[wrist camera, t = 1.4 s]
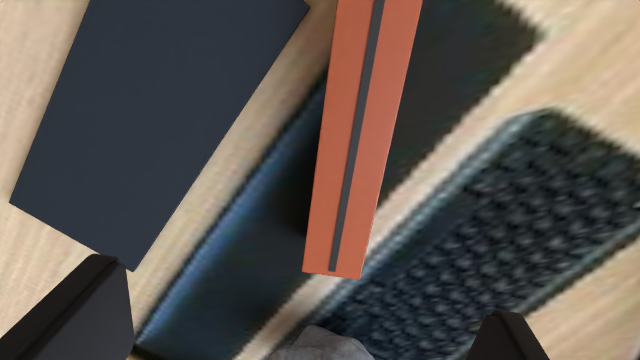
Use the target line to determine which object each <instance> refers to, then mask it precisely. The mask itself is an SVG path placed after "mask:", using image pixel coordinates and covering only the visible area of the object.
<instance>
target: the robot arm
mask: <svg viewBox="0 0 640 360" xmlns="http://www.w3.org/2000/svg"><path fill="white" fill-rule="evenodd" d="M133 344H134V330H133V322H132V314H131V306H130V298H129V290H128V282H127V275H126V267H125V265H124V264H122V263H120V260H119V258H118V257H115V256H107V255H100V254H91V255H90V256H88V257H87V258H86V259H85V260H84V261H83V262H82V263H80V264H79V265H78V266H77V267H76V268H75V269H74V270H73V271H72V272H71V273H70V274H69V275H68V276H67V277H65V278H64V279H63V280H62V281H61V282H60V283H59V284H58V285H57V286H56V287H55V288H54V289H53V290H52V291H51V292H49V293H48V294H47V295H46V296H45V297H44V298H43V299H42V300H41V301H40V302H39V303H38V304H37V305H36V306H34V307H33V308H32V309H31V310H30V311H29V312H28V313H27V314H26V315H25V316H24V317H23V318H22V319H21V320H20V321H18V322H17V323H16V324H15V325H14V326H13V327H12V328H11V329H10V330H9V331H8V332H7V333H6V334H5V335H3V336H2V337H1V338H0V360H126V358H127V357H128V355H129V354H130V352H131V350H132V347H133ZM466 360H550V359H549V358H548V356H547V355H546V353H545V351H544V350H543V348H542V346H541V345H540V343H539V342H538V340H537V338H536V337H535V335H534V334H533V332H532V330H531V329H530V327H529V326H528V324H527V322H526V321H525V319H524V318H523V316H522V315H521V314H519V313H515V312H507V311H500V310H494V311H493V312H492V313H491V315H486V316H485V318H484V320H483V322H482V324H481V327H480V329H479V331H478V333H477V336H476V338H475V340H474V342H473V344H472V347H471V349H470V351H469V353H468V356H467V358H466Z"/></svg>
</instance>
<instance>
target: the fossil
mask: <svg viewBox="0 0 640 360" xmlns="http://www.w3.org/2000/svg"><path fill="white" fill-rule="evenodd" d="M268 360H374V358H373V357H372V356H371V355H370V354H369V353H368V352H367V350H366V349H365V348H364V346H363V345H362V344H361V343H360V342H359V341H358V340H356V339H354V338H350V337H344V336H339V335H337V334H335V333H333V332H331V331H329V330H328V329H326V328H323V327H319V326H317V325H308V326H307V327H306V328H305V329H304V330H303V332H302V333H301V334H300V336H299V337H298V339H297V340H296V341H295V342H294V344H293V345H285V346H282V347H281V348H280V349H278V350H277V351H276V352H273V353H272V354H270V356H269V357H268Z"/></svg>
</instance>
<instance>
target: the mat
mask: <svg viewBox="0 0 640 360" xmlns="http://www.w3.org/2000/svg"><path fill="white" fill-rule="evenodd" d="M309 9H310V6H309V5H308V4H307V3H305V2H304V1H303V0H90V2H89V4H88V7H87V9H86V12H85V14H84V17H83V19H82V22H81V24H80V27H79V29H78V32H77V34H76V37H75V39H74V42H73V44H72V47H71V49H70V52H69V54H68V56H67V59H66V61H65V64H64V66H63V69H62V71H61V74H60V76H59V79H58V81H57V84H56V86H55V89H54V91H53V94H52V96H51V99H50V101H49V104H48V106H47V109H46V111H45V114H44V116H43V119H42V121H41V123H40V126H39V128H38V131H37V133H36V136H35V138H34V141H33V143H32V146H31V148H30V151H29V153H28V156H27V158H26V161H25V163H24V166H23V168H22V171H21V173H20V176H19V178H18V181H17V183H16V186H15V188H14V190H13V193H12V195H11V198H10V200H9V203H10V204H12V205H14V206H16V207H17V208H19V209H21V210H23V211H24V212H26V213H28V214H30V215H32V216H33V217H35V218H37V219H39V220H40V221H42V222H44V223H46V224H48V225H49V226H51V227H53V228H55V229H56V230H58V231H60V232H62V233H63V234H65V235H67V236H69V237H71V238H72V239H74V240H76V241H78V242H79V243H81V244H83V245H85V246H87V247H88V248H90V249H92V250H94V251H95V252H97V253H99V254H101V255H107V256H115V257H118V258H119V260H120V263H122V264H124V265H125V267H126V269H127V270H129V271H131V272H134V271H135V269H136V268H137V267H138V265H139V264H140V262H141V261H142V259H143V258H144V256H145V255H146V253H147V252H148V250H149V249H150V247H151V246H152V244H153V243H154V241H155V240H156V238H157V237H158V235H159V234H160V232H161V231H162V229H163V228H164V226H165V225H166V223H167V222H168V220H169V219H170V217H171V216H172V214H173V213H174V211H175V210H176V208H177V207H178V205H179V204H180V202H181V201H182V199H183V198H184V196H185V195H186V193H187V192H188V190H189V189H190V187H191V186H192V184H193V183H194V181H195V180H196V178H197V177H198V175H199V174H200V172H201V171H202V169H203V168H204V166H205V165H206V163H207V162H208V160H209V159H210V157H211V156H212V154H213V153H214V151H215V150H216V148H217V147H218V145H219V144H220V142H221V141H222V139H223V138H224V136H225V135H226V133H227V132H228V130H229V129H230V127H231V126H232V124H233V123H234V121H235V120H236V118H237V117H238V115H239V114H240V112H241V111H242V109H243V108H244V106H245V105H246V103H247V102H248V100H249V99H250V97H251V96H252V94H253V93H254V91H255V90H256V88H257V87H258V85H259V84H260V82H261V81H262V79H263V78H264V76H265V75H266V73H267V72H268V70H269V69H270V67H271V66H272V64H273V63H274V61H275V60H276V58H277V57H278V55H279V54H280V52H281V51H282V50H283V48H284V47H285V45H286V44H287V42H288V41H289V39H290V38H291V36H292V35H293V33H294V32H295V30H296V29H297V27H298V26H299V24H300V23H301V21H302V20H303V18H304V17H305V15H306V14H307V12H308V11H309Z"/></svg>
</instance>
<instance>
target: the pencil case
mask: <svg viewBox="0 0 640 360" xmlns="http://www.w3.org/2000/svg"><path fill="white" fill-rule="evenodd" d="M422 1H423V0H338V1H337V8H336V16H335V24H334V31H333V39H332V46H331V54H330V62H329V69H328V77H327V84H326V92H325V100H324V107H323V115H322V122H321V130H320V138H319V145H318V153H317V161H316V168H315V176H314V183H313V191H312V199H311V206H310V214H309V221H308V229H307V237H306V244H305V252H304V259H303V267H302V272H307V273H314V274H322V275H329V276H336V277H343V278H350V279H357V280H360V277H361V273H362V268H363V264H364V259H365V255H366V250H367V246H368V242H369V237H370V233H371V228H372V224H373V219H374V215H375V210H376V206H377V201H378V197H379V192H380V188H381V184H382V179H383V175H384V170H385V166H386V161H387V157H388V152H389V148H390V143H391V139H392V135H393V130H394V126H395V121H396V117H397V112H398V108H399V103H400V99H401V94H402V90H403V85H404V81H405V77H406V72H407V68H408V63H409V59H410V54H411V50H412V45H413V41H414V36H415V32H416V28H417V23H418V19H419V14H420V10H421V5H422Z"/></svg>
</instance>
